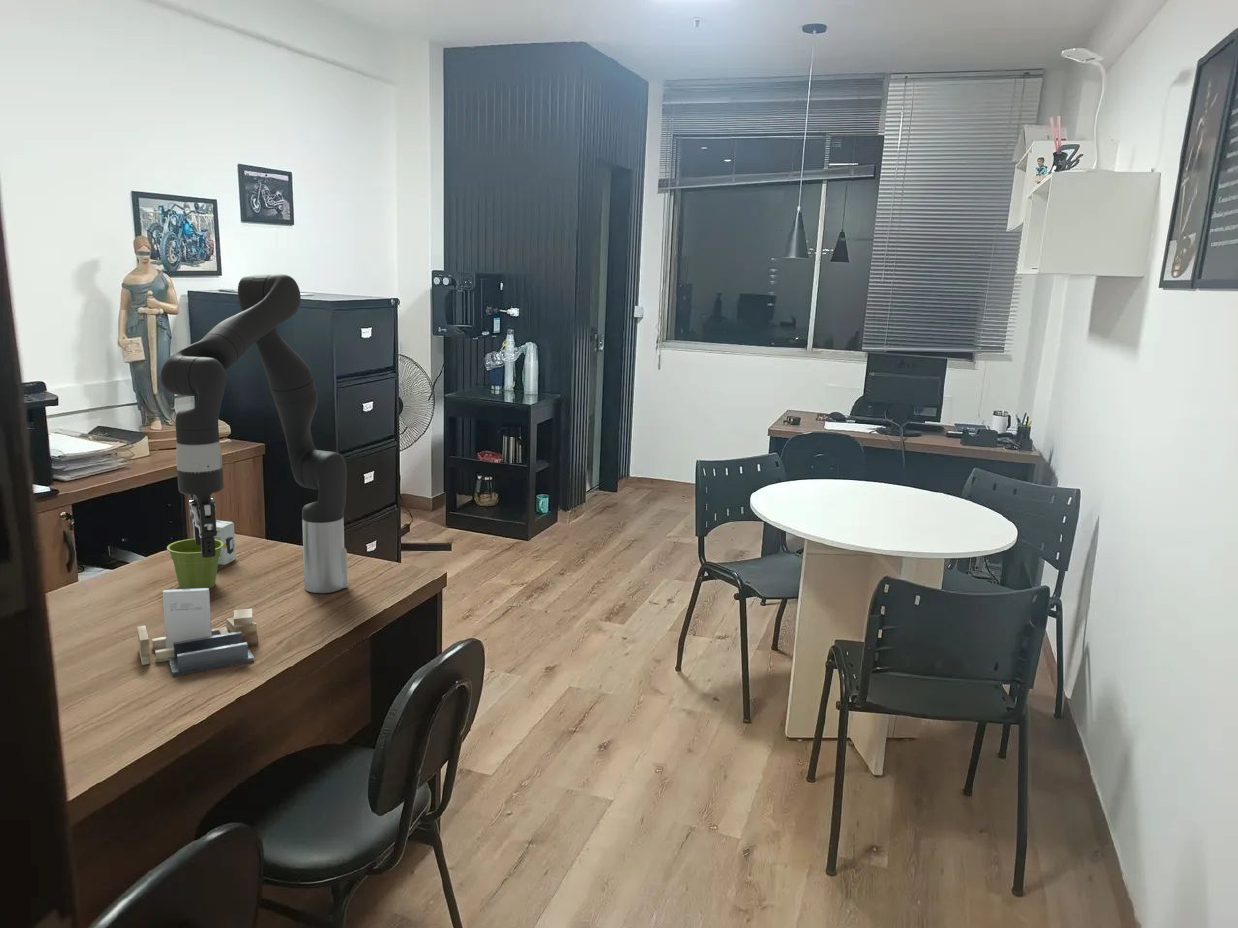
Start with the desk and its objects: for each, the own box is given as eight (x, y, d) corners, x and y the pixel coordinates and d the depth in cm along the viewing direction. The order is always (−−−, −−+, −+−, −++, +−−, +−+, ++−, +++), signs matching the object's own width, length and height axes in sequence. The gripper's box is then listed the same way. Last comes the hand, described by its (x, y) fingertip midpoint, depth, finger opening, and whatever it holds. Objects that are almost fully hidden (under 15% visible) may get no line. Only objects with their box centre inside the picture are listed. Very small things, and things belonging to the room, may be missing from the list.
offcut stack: (251, 631, 179) (250, 605, 177) (258, 643, 173) (257, 617, 172) (226, 635, 176) (225, 609, 175) (232, 648, 170) (231, 621, 169)
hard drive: (168, 648, 169) (164, 589, 166) (212, 646, 171) (209, 587, 168) (166, 652, 167) (161, 592, 165) (211, 649, 169) (207, 590, 167)
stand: (247, 647, 171) (246, 629, 170) (253, 661, 165) (253, 643, 164) (168, 661, 163) (167, 643, 162) (172, 676, 157) (171, 657, 157)
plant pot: (204, 602, 193) (202, 554, 191) (158, 597, 195) (154, 550, 193) (236, 585, 205) (234, 540, 202) (192, 580, 207) (189, 535, 204)
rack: (226, 635, 176) (225, 612, 175) (232, 648, 170) (231, 625, 169) (138, 650, 167) (137, 626, 166) (142, 664, 161) (140, 640, 160)
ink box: (193, 569, 215) (191, 523, 212) (206, 563, 219) (203, 518, 217) (225, 572, 213) (222, 526, 211) (236, 566, 218) (234, 521, 216)
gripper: (228, 472, 152) (233, 558, 156) (216, 456, 164) (220, 537, 167) (181, 475, 148) (188, 564, 152) (172, 460, 160) (178, 542, 163)
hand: (205, 550), depth 159 cm, fingers open, 8 cm apart
